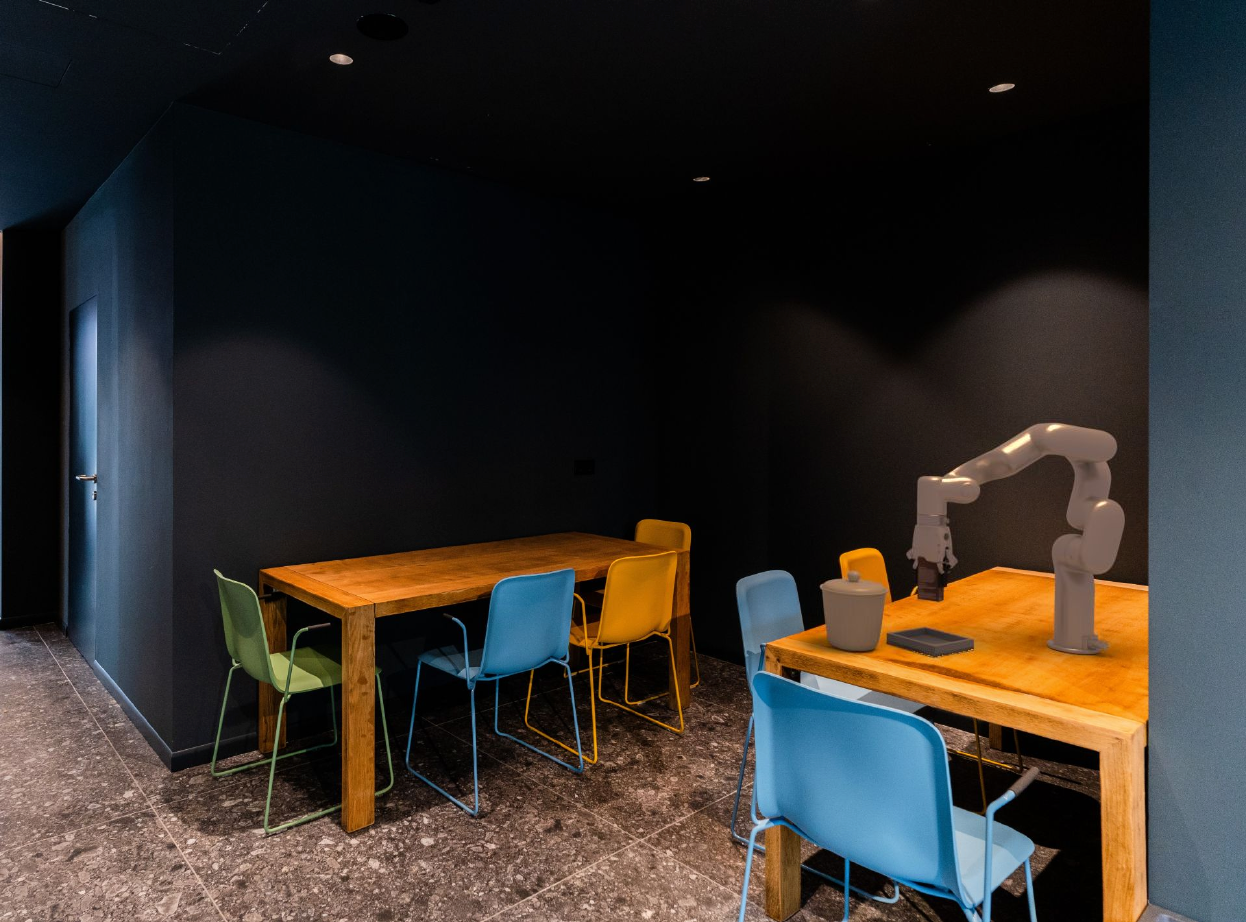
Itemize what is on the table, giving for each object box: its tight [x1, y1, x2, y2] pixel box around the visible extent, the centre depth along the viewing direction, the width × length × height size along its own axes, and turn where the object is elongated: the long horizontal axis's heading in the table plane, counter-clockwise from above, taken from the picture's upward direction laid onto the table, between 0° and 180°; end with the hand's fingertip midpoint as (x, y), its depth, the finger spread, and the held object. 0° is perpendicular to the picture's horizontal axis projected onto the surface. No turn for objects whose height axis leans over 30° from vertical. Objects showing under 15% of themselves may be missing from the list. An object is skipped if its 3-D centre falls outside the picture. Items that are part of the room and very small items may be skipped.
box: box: [916, 556, 945, 603], centre depth 209 cm, size 6×4×12 cm
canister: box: [819, 570, 889, 652], centre depth 209 cm, size 18×18×21 cm
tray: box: [886, 626, 975, 658], centre depth 209 cm, size 16×16×3 cm
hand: (930, 584), depth 209 cm, fingers closed on box, 6 cm apart
